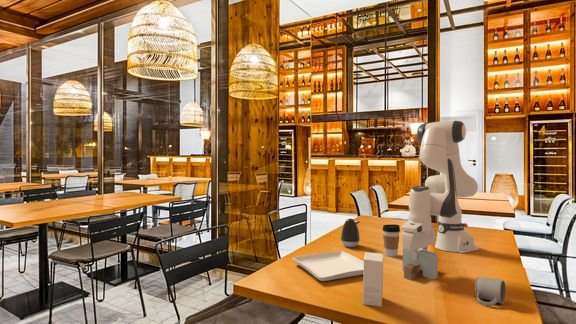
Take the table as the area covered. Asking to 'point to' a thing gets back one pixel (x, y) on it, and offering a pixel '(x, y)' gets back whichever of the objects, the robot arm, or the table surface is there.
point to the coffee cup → (391, 239)
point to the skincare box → (373, 279)
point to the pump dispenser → (350, 233)
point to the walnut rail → (412, 271)
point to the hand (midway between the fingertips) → (419, 257)
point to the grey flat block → (423, 262)
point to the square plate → (331, 265)
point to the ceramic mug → (490, 290)
